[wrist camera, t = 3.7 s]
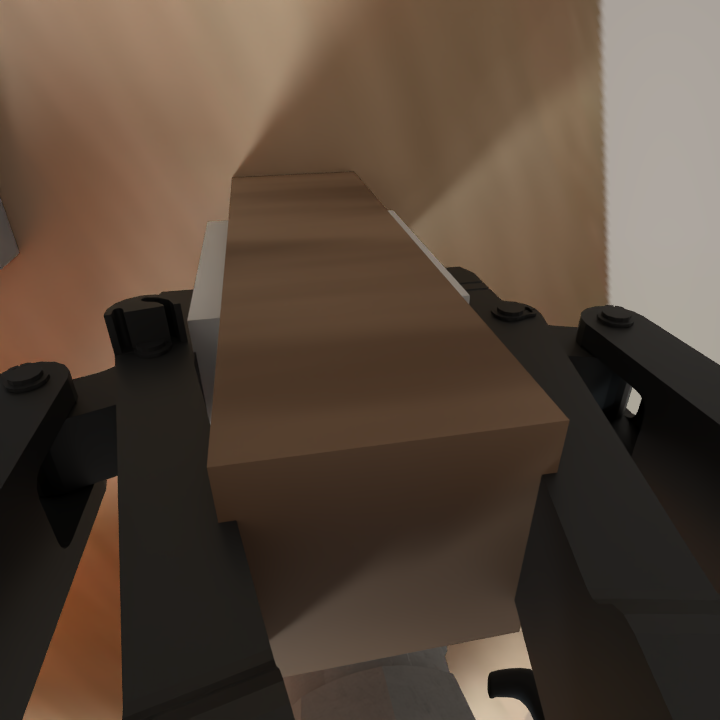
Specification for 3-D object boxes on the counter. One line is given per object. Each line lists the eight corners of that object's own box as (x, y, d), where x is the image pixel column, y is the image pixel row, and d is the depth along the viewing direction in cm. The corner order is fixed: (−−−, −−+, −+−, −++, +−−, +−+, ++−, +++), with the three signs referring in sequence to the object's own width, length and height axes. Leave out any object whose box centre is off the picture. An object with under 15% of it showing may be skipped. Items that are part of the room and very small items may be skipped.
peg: (355, 282, 20) (519, 631, 8) (246, 291, 19) (251, 683, 7) (353, 171, 18) (570, 420, 6) (232, 177, 17) (206, 467, 5)
